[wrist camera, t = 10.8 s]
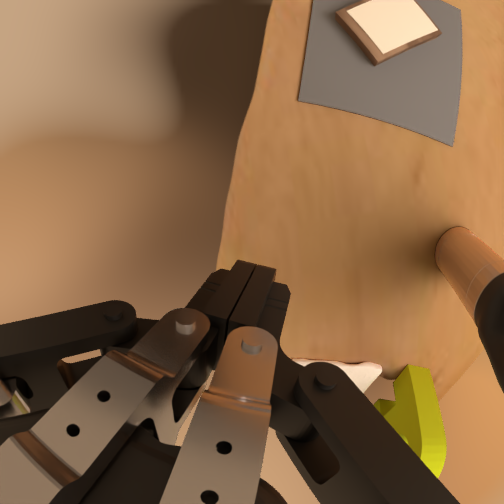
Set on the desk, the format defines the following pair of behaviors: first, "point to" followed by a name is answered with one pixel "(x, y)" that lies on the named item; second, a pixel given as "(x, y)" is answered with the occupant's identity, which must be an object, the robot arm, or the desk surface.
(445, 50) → the desk mat
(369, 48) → the walnut picture frame
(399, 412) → the decorative object
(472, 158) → the desk surface
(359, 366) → the flat white fragment
